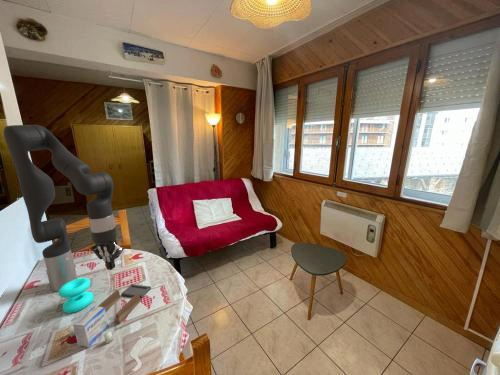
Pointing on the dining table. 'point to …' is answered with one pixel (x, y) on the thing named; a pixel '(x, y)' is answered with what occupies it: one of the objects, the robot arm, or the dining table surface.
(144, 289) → the pit tray
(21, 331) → the dining table surface
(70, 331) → the pair of cream knobs
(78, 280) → the turquoise spool
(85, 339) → the medicine box
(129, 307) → the channel
